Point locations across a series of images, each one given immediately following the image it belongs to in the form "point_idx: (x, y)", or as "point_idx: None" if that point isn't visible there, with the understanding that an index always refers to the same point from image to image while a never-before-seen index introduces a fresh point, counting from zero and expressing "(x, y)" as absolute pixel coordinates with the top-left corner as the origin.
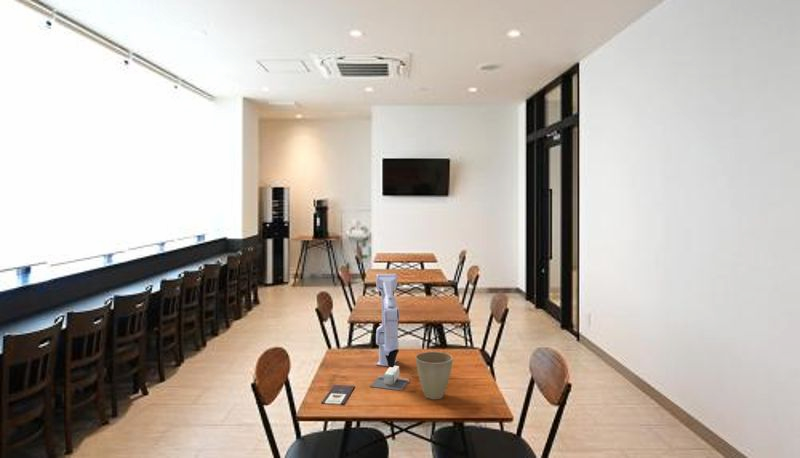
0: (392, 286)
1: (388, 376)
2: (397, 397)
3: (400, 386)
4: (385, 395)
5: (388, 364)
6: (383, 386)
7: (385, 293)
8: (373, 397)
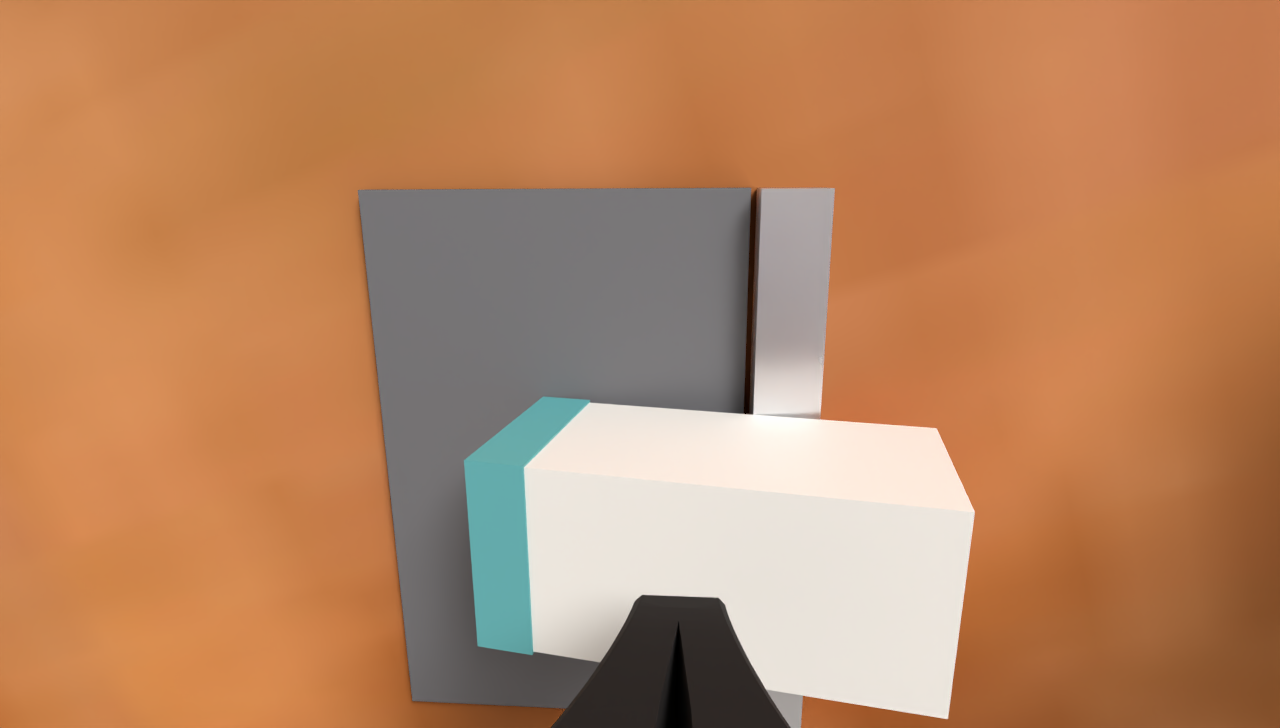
0: None
1: (478, 555)
2: (191, 694)
3: (538, 657)
4: (174, 534)
5: (624, 638)
6: (436, 420)
7: None
8: (29, 396)
